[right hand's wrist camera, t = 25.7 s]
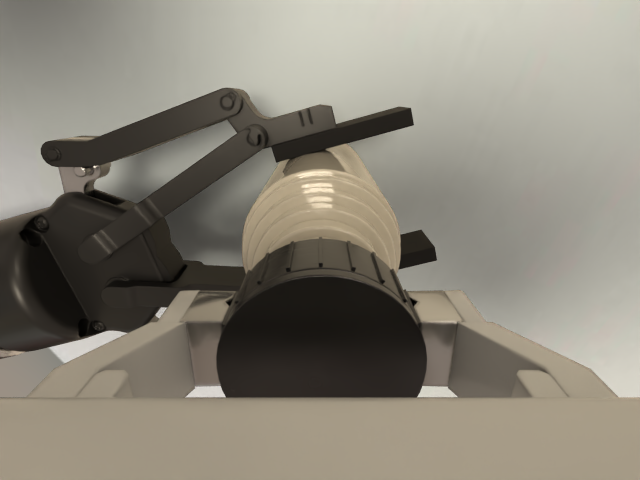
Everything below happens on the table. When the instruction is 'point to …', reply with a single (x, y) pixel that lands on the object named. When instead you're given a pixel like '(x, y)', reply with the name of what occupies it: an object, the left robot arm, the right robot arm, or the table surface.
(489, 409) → the right robot arm
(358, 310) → the cap
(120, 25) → the table surface
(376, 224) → the bottle
